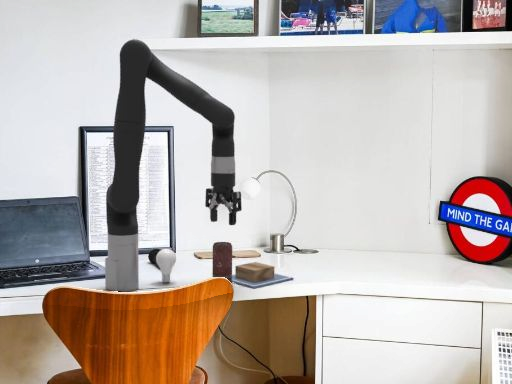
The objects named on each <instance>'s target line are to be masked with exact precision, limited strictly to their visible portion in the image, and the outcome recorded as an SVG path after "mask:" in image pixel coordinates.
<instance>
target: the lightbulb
mask: <svg viewBox="0 0 512 384" xmlns="http://www.w3.org/2000/svg"><path fill="white" fill-rule="evenodd" d="M156 262H157V264H158V266H159V267H160V268H159V267H158V266H157V267H158V268H159V269H160V272H161V281H162V283H164V284H168V283H169V282H171V273H172V270H173V267H174V266H175V264H176V262H177V256H176V253H175V251H173V250H172V249H169V248H162V249H160V251H159V252H158V254H157V256H156Z"/></svg>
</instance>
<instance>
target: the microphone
mask: <svg viewBox="0 0 512 384" xmlns="http://www.w3.org/2000/svg"><path fill="white" fill-rule="evenodd" d="M160 250H161V249H160V248H153V249H151V250H150V251H149V252H148V255H147V257H148V261H149V262H150V263H151V264H155V265H156V266H157V267H158V268H159V269H160V267H159V266H158V264H157V262H156V256H157V254H158V252H159V251H160Z"/></svg>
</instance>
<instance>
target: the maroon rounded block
mask: <svg viewBox="0 0 512 384" xmlns="http://www.w3.org/2000/svg"><path fill="white" fill-rule="evenodd" d="M211 273H212V274H211V275H212V277H225V278H227V279H228V280H229V281H230V282H231V283H232V275H233V245H232V242H228V241H216V242H214V243H213V244H212V272H211ZM232 284H233V283H232Z"/></svg>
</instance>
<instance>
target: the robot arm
mask: <svg viewBox="0 0 512 384" xmlns="http://www.w3.org/2000/svg"><path fill="white" fill-rule="evenodd" d="M147 79H148V80H150V81H152V82H153V83H155V84H157V85H158V86H159V87H160V88H163V90H165V91H166V92H167V93H169V94H170V95H172V97H174V98H175V99H176V100H178V101H179V102H180V103H182V104H183V105H185V106H186V107H188V109H191V110H192V111H193V112H195V113H197V114H199V115H200V116H201V117H203V118H204V119H205V120H207V121H208V122H209V123H211V127H212V128H211V131H212V140H211V158H210V159H211V160H210V186H211V188H206V189H205V203H204V204H205V205H204V206H205V208H208V209H209V217H210V222H212V223H215V222H218V208H219V206H220V205H224V207H225V208H226V209H227V210H228V225H229V226H235V225H236V224H237V213H238V212H241V211H242V209H243V208H242V192H241V191H234V187H235V186H236V160H235V154H236V153H235V152H236V151H235V150H236V149H235V140H234V135H235V133H234V132H235V120H236V116H235V113H234V110H233V109H232V108H231V107H230V106H228V105H226V104H224V103H223V102H221V101H220V100H218V99H216V98H215V97H214V96H212V95H211V94H210V93H209V92H207V90H205V89H203V88H202V87H201V86H199V85H198V84H197V83H195V82H193V81H192V80H190V79H188V78H187V77H185V76H184V75H182V74H180V73H179V72H177V71H175V70H173V69H172V68H171V67H169V66H168V65H167V64H165V63H164V62H163V61H162V60H160V59H159V58H158V57H157V56H156V55H155V54H154V53H153V52H152V50H151V49H150V47H149V46H148V45H147V44H146V43H145V42H144V41H143V40H140V39H137V38H135V39H130V40H128V41H126V42H125V43H124V44H123V45H122V46H121V48H120V52H119V90H118V95H117V100H116V106H115V111H114V112H115V113H114V114H115V115H114V120H113V121H114V122H113V132H112V133H113V134H112V135H113V137H112V138H113V140H112V141H113V143H112V144H113V154H114V170H113V177H112V183H111V184H109V186H108V188H107V191H106V194H105V195H106V196H105V197H106V198H105V205H106V207H105V208H106V210H105V211H106V214H105V215H106V226H107V228H106V229H107V257H105V260H104V267H105V269H104V271H105V272H104V275H105V278H104V279H105V281H104V282H105V286H104V287H105V289H106V290H109V291H112V292H114V291H121V292H132V291H135V290H138V289H139V285H140V284H139V282H140V281H139V280H140V279H139V223H138V214H137V208H138V204H139V201H140V166H141V159H142V154H143V148H144V139H145V134H146V133H145V132H146V122H147V109H146V108H147V107H146V95H145V91H146V90H145V89H146V87H145V86H146V81H147Z"/></svg>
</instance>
